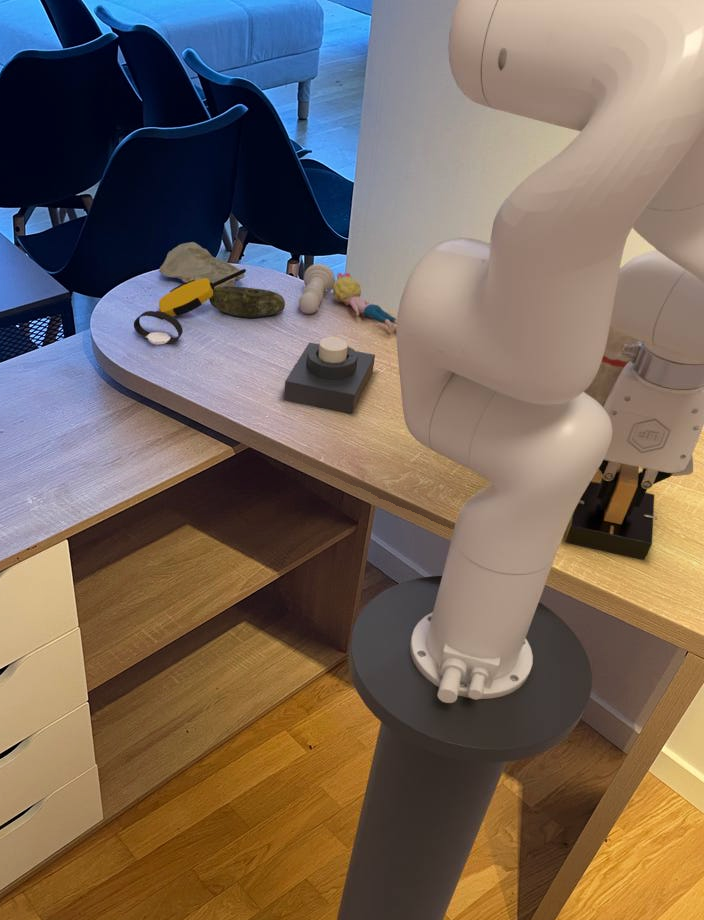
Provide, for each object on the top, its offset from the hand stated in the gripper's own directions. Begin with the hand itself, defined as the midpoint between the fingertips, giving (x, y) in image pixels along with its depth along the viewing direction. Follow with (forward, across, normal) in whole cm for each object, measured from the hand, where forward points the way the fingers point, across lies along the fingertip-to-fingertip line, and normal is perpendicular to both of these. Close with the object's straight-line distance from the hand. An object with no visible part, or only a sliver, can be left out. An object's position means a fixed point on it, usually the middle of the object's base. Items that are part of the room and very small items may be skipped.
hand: (615, 505), depth 106 cm
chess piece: (0, -50, +48) cm, 69 cm away
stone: (+1, -68, +50) cm, 84 cm away
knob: (+1, 0, 0) cm, 1 cm away
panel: (+3, 0, 0) cm, 3 cm away
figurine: (+2, -34, +38) cm, 51 cm away
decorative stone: (-1, -58, +35) cm, 68 cm away
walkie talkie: (+3, -71, +30) cm, 78 cm away
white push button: (-1, -40, +19) cm, 44 cm away
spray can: (+3, -4, +19) cm, 20 cm away
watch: (+1, -68, +24) cm, 72 cm away
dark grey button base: (+3, -40, +19) cm, 44 cm away
